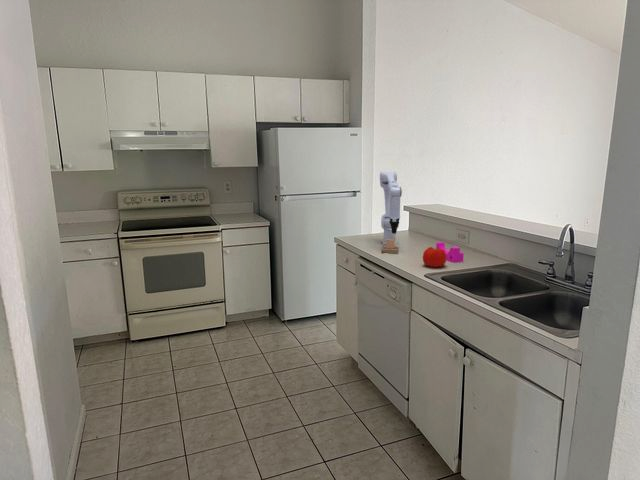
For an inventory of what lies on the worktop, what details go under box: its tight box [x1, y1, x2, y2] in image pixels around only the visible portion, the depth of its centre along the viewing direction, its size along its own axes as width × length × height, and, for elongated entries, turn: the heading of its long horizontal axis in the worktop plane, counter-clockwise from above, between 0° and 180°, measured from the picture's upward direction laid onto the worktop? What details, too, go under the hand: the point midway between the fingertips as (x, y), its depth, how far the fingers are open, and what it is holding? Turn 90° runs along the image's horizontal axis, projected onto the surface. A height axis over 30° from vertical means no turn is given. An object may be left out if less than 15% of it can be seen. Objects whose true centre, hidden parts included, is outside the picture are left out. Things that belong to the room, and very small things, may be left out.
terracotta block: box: [385, 238, 396, 249], centre depth 250 cm, size 4×4×5 cm
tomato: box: [422, 246, 447, 269], centre depth 221 cm, size 11×12×9 cm
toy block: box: [435, 241, 465, 263], centre depth 235 cm, size 15×6×8 cm, turn 20°
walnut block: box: [381, 245, 400, 255], centre depth 251 cm, size 9×9×3 cm
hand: (394, 232), depth 255 cm, fingers open, 7 cm apart
